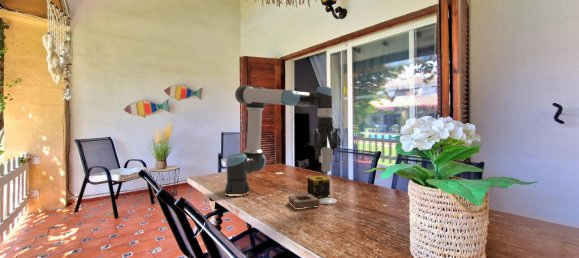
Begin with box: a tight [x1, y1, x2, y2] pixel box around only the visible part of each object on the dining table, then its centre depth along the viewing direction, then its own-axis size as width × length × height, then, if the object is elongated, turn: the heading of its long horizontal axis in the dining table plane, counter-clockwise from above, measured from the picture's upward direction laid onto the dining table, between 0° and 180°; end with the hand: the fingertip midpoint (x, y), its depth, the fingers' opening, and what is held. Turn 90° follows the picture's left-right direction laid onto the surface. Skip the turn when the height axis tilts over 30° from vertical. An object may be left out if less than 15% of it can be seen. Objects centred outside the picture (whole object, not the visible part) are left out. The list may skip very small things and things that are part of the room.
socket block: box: [288, 193, 320, 209], centre depth 136 cm, size 12×12×4 cm
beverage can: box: [320, 147, 332, 173], centre depth 139 cm, size 5×5×12 cm
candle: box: [306, 175, 331, 197], centre depth 153 cm, size 10×10×10 cm
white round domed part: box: [318, 197, 338, 205], centre depth 140 cm, size 10×10×1 cm
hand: (326, 162), depth 139 cm, fingers closed on beverage can, 5 cm apart
